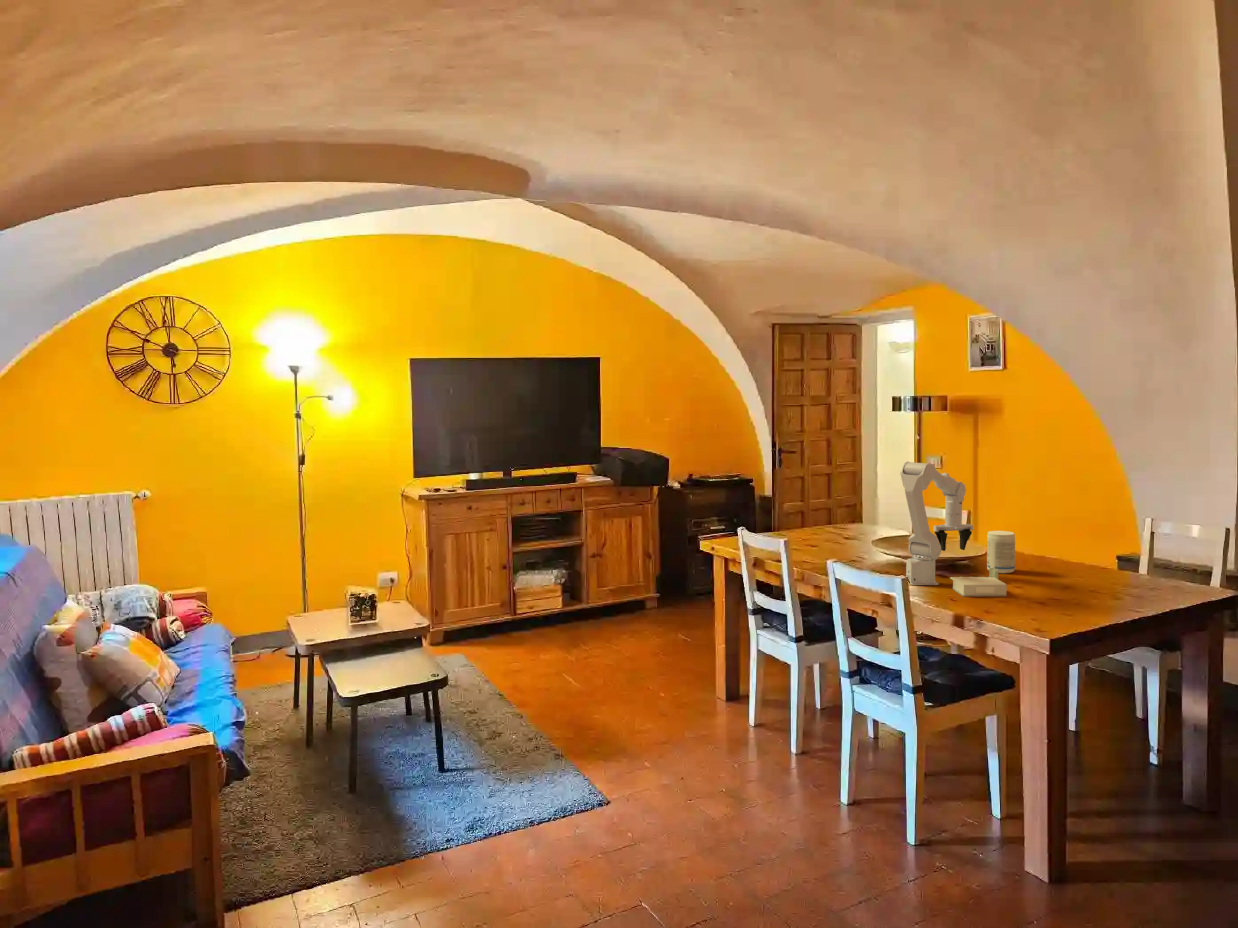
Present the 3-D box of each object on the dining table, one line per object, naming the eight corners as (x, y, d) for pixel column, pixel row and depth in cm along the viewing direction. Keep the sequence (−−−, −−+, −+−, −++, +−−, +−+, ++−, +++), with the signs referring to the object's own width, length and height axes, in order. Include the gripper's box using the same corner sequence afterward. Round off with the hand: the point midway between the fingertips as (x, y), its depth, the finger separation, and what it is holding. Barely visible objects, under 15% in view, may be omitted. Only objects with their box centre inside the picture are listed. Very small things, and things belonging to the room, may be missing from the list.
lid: (960, 586, 291) (960, 573, 291) (949, 579, 302) (950, 566, 301) (1001, 586, 291) (1002, 572, 290) (990, 579, 301) (990, 566, 300)
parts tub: (963, 596, 276) (963, 584, 275) (952, 588, 286) (952, 577, 285) (1006, 596, 275) (1007, 584, 274) (994, 588, 285) (994, 577, 285)
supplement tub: (1019, 571, 310) (1021, 532, 308) (1005, 575, 305) (1006, 535, 303) (995, 567, 318) (996, 529, 316) (981, 570, 313) (982, 532, 311)
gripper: (940, 516, 299) (939, 552, 300) (978, 514, 301) (977, 551, 302) (930, 513, 306) (930, 549, 307) (967, 511, 308) (966, 547, 309)
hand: (952, 549), depth 305 cm, fingers open, 7 cm apart
